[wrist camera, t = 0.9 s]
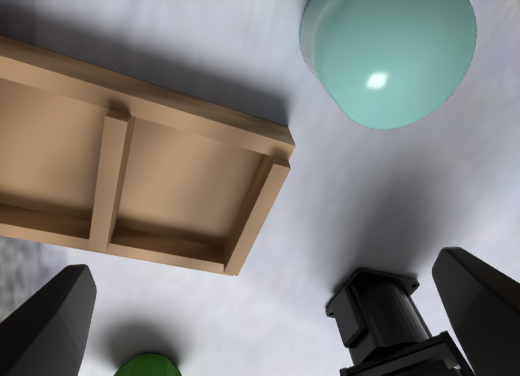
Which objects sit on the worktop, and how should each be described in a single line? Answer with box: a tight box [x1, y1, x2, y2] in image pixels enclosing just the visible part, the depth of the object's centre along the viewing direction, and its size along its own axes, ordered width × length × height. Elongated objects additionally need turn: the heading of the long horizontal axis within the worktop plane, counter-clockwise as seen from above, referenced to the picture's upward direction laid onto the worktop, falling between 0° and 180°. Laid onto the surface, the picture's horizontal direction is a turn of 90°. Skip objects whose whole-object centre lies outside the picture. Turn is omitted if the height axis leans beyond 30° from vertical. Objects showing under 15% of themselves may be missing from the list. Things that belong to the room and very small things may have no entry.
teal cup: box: [299, 0, 477, 129], centre depth 15 cm, size 6×6×6 cm
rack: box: [0, 35, 295, 276], centre depth 19 cm, size 18×11×3 cm, turn 69°
